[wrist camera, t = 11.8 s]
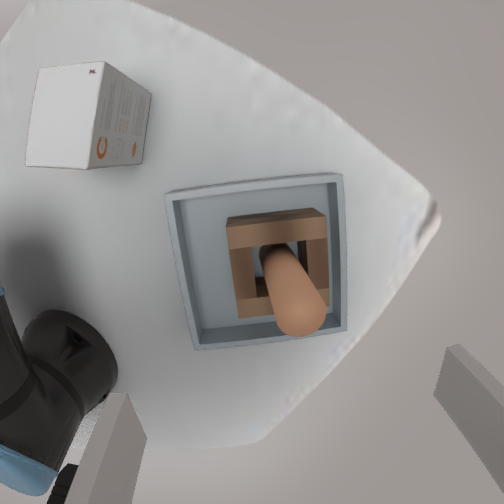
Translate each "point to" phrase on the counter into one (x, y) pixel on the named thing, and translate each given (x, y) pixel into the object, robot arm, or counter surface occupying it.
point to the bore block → (273, 232)
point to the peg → (291, 291)
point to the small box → (86, 118)
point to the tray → (218, 259)
